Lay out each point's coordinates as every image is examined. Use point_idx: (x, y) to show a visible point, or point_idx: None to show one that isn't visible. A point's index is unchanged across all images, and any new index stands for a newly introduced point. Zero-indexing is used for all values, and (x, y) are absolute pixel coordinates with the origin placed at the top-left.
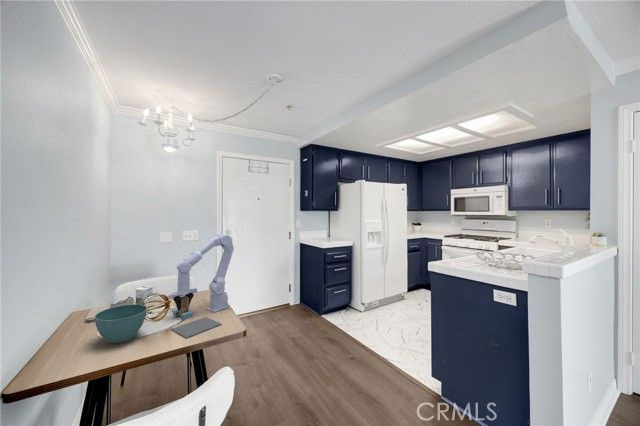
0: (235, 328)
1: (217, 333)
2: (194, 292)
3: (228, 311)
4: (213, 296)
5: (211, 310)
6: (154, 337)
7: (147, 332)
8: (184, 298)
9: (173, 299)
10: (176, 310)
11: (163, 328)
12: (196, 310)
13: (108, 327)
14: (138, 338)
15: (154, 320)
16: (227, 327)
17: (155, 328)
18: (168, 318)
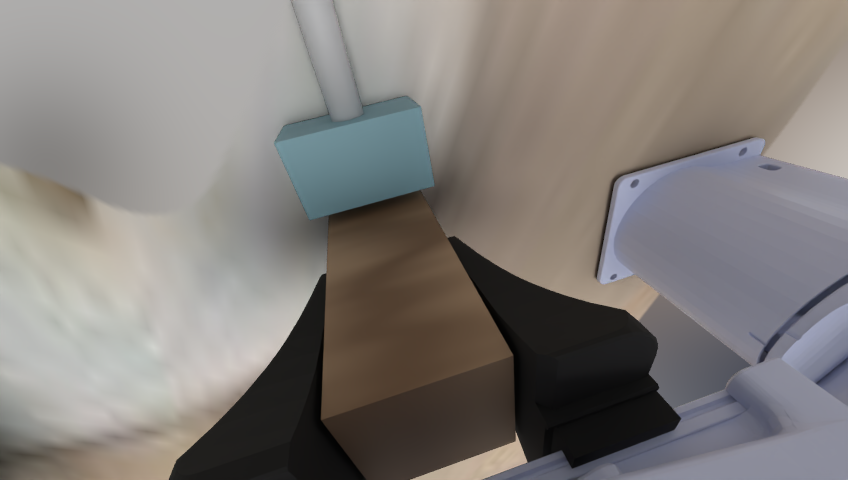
0: (521, 457)
1: (451, 475)
2: (707, 411)
3: (650, 303)
4: (746, 356)
5: (604, 253)
6: (152, 468)
7: (62, 412)
8: (432, 470)
9: (210, 429)
10: (321, 176)
11: (197, 389)
12: (542, 146)
13: None
14: (19, 465)
15: (25, 177)
16: (507, 447)
17: (120, 372)
18: (226, 209)
